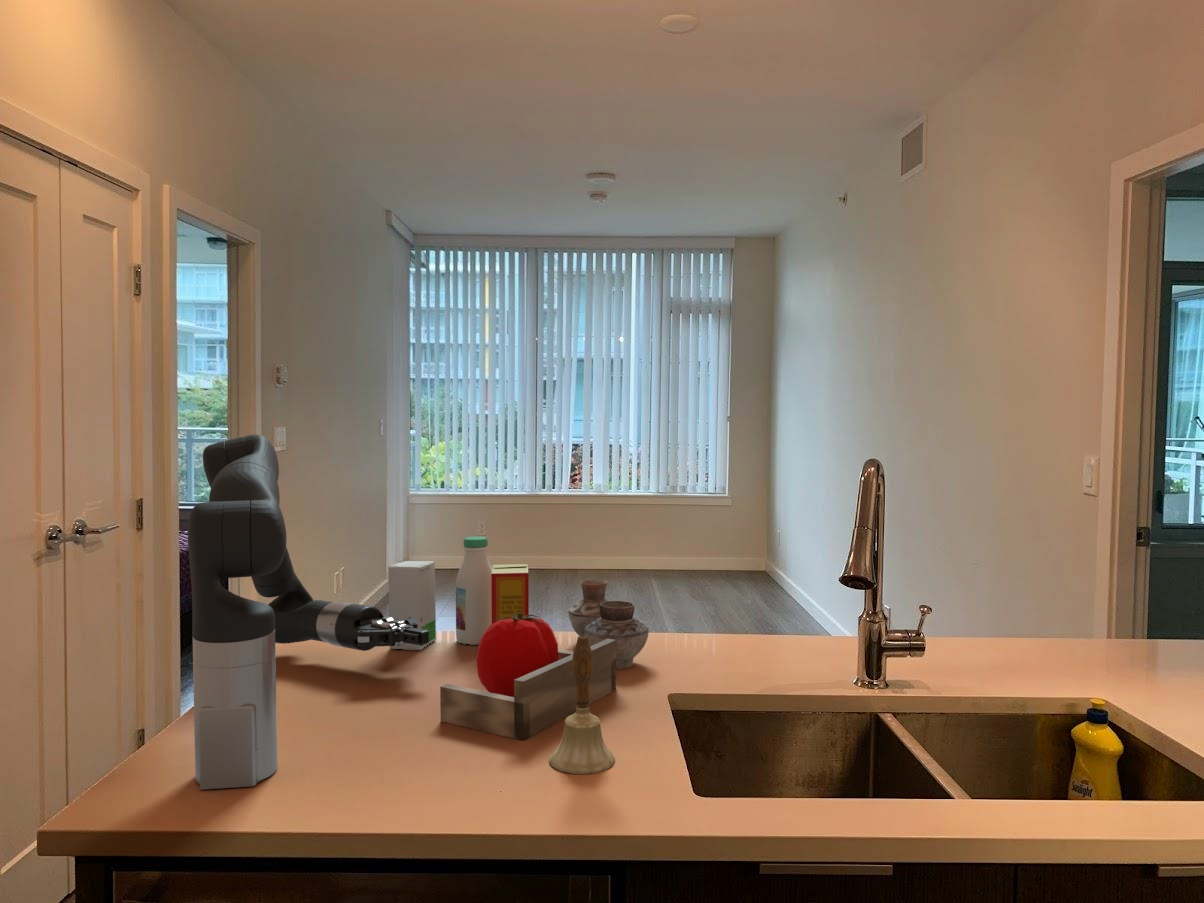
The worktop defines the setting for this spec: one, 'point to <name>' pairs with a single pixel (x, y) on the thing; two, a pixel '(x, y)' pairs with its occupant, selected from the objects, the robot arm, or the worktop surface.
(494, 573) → the baking soda box
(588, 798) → the worktop surface
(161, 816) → the worktop surface
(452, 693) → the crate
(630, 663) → the pottery
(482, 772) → the worktop surface
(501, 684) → the tomato
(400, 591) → the skincare box
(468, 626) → the milk bottle
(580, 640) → the hand bell
